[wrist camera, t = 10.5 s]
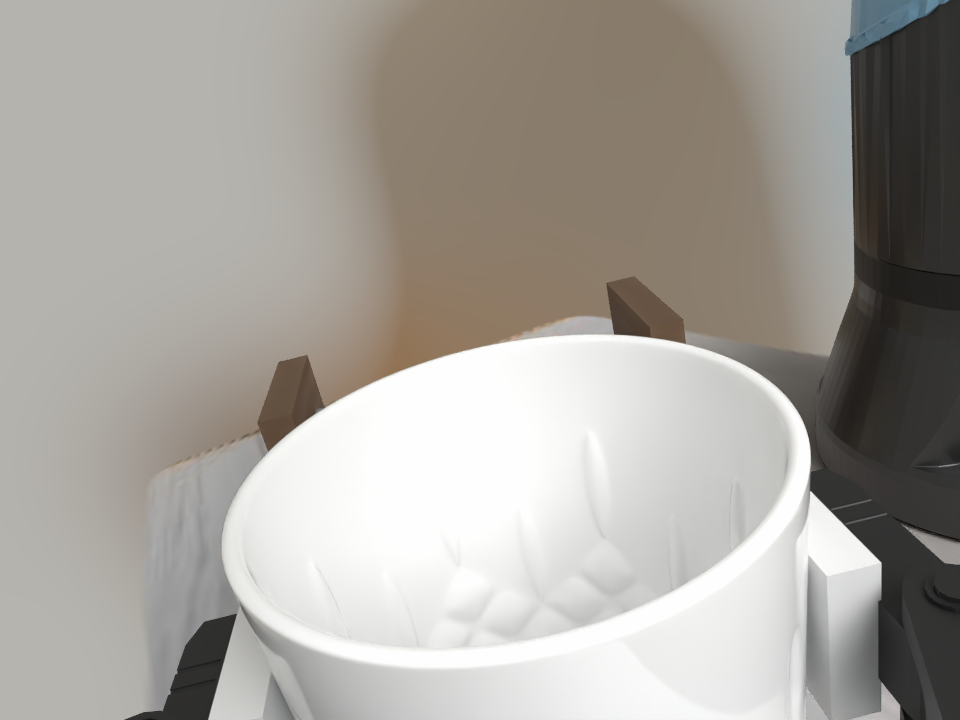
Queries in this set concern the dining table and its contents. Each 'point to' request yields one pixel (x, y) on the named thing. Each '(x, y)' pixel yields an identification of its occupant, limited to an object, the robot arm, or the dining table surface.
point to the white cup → (535, 540)
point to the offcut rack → (301, 399)
